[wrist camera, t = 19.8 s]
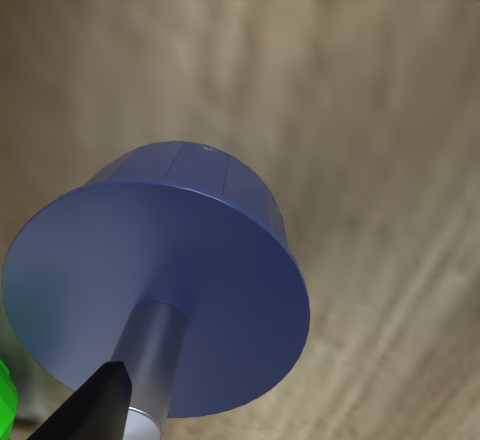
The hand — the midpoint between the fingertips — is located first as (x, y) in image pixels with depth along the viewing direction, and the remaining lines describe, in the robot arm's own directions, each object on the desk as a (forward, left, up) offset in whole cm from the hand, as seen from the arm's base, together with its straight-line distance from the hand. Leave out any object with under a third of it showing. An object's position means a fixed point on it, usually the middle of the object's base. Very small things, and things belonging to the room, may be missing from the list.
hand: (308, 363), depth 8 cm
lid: (+6, +3, -6) cm, 8 cm away
